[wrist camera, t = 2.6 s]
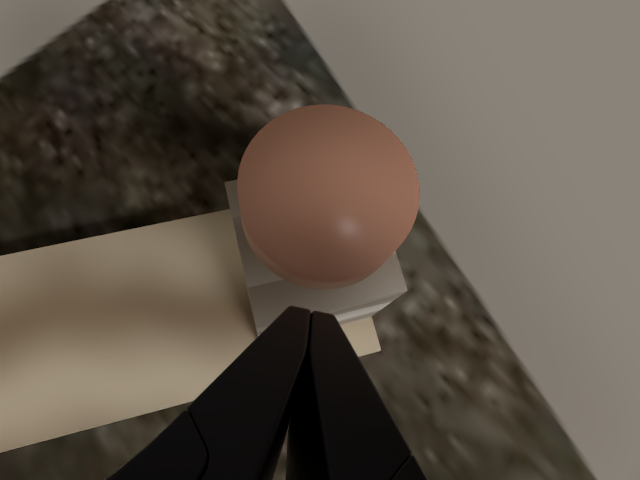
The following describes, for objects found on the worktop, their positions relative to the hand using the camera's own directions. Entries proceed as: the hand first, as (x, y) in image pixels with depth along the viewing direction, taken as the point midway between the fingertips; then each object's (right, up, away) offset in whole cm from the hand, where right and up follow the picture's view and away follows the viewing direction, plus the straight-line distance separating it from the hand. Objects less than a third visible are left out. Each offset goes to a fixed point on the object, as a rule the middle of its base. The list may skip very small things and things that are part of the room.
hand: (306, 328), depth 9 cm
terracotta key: (0, +2, +7) cm, 8 cm away
